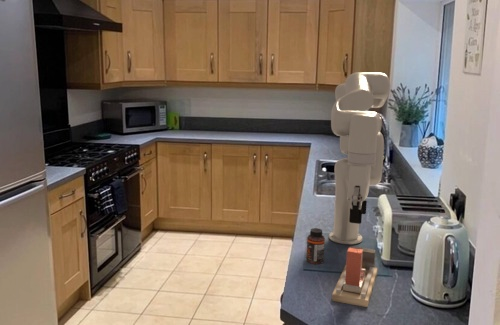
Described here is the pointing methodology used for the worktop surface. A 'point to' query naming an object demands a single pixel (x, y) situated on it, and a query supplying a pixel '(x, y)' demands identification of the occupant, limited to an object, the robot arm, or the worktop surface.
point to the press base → (369, 281)
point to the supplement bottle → (315, 246)
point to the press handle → (354, 271)
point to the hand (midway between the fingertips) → (357, 218)
